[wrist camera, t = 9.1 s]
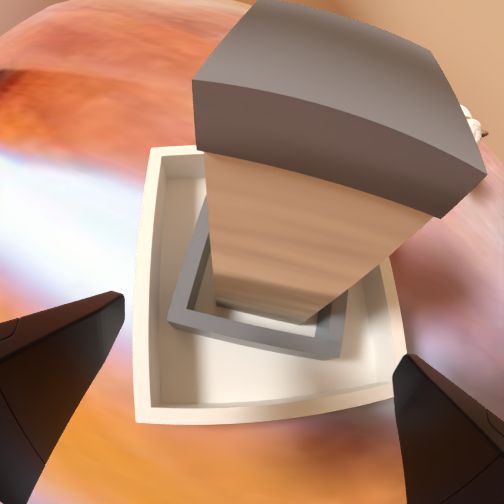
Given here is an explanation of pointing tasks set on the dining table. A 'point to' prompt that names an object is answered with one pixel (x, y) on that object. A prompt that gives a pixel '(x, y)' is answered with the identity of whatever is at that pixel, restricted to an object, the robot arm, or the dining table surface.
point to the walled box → (242, 325)
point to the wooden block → (321, 155)
